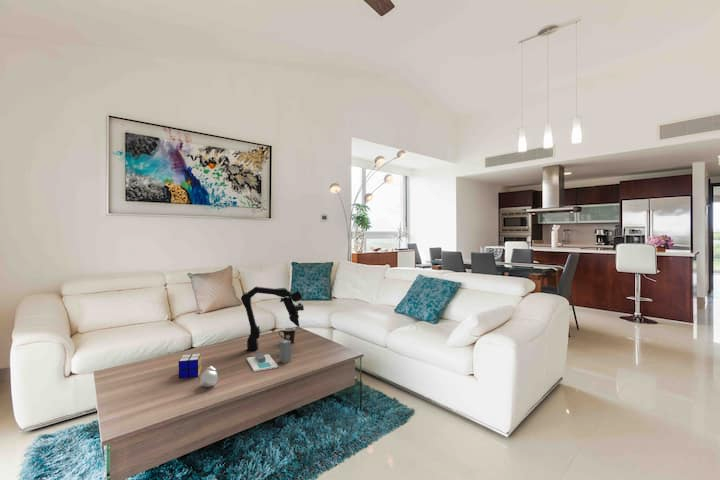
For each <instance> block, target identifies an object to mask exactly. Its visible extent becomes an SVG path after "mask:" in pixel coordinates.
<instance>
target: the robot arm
mask: <svg viewBox="0 0 720 480" xmlns="http://www.w3.org/2000/svg"><path fill="white" fill-rule="evenodd" d="M256 294H263V295H264V294H267V295H274V296H277V297H280V300H279V303H282V302H283V304H284V307H285V308H286V311H287V313H288V316H289V317H288V318H289V321H290V322H292V323H293V324H294V325H295V326H296V327H300V321H299V318H300V317H299V316H300V315H299V311H305V309H304V304H302V303H301V302H299V301H301V300H303V296H302V293H301V292H300V290H299V289H297V290H296V291H294V292H291V291H289V290H288V288H286V287H278V288H271V287H262V286H254V287H253V288H252V289H251V290H249V291H248V292H244V293H243V294H242V295H241V297H240V300H241V302H242V305H243V306H244V307H245V311H246V315H247V319H248V322H249V326H250V334H249V335H248V337H247V341H246V343H247V344H246V348H247V349H246V352H256V351H257V350H258V349H259V342H258V339H259V338H260V335H261V332H262V331H261V328H260V325H257V322H256V319H255V315H254V311H253V308H252V298H253V297H254V296H255V295H256ZM294 302H295V303H297V302H298V303H297V305H295V304H294Z"/></svg>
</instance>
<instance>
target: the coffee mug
mask: <svg viewBox="0 0 720 480" xmlns="http://www.w3.org/2000/svg"><path fill="white" fill-rule="evenodd" d="M280 332H282V333H283V336H282V335H281V333H280ZM278 335H279V336H280V337H281V338H282V339H283V340H288V341H291V345H293V344H294V343H295V337H296V328H295V327H286V328H283V329H282V330H279V331H278Z"/></svg>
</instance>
